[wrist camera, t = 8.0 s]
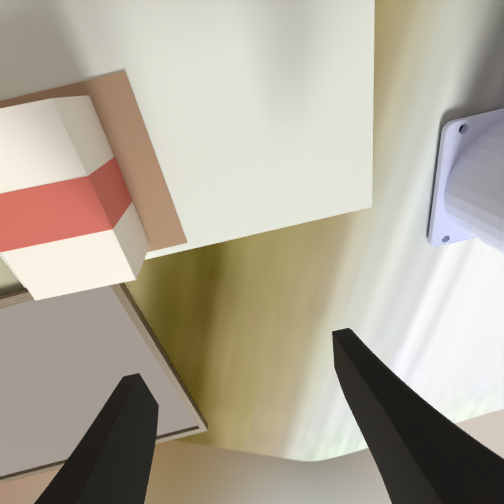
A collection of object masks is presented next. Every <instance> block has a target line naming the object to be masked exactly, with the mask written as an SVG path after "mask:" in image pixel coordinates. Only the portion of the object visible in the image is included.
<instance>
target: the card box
mask: <svg viewBox="0 0 504 504" xmlns="http://www.w3.org/2000/svg"><path fill="white" fill-rule="evenodd" d="M132 201H133V200H132V198H131V195H130V193H129V190H128V188H127V185H126V183H125V181H124V178H123V176H122V173H121V171H120V168H119V166H118V163H117V161H116V158H115V157H114V155H113V152H112V150H111V147H110V145H109V142H108V140H107V137H106V135H105V133H104V130H103V128H102V125H101V123H100V120H99V118H98V115H97V113H96V110H95V108H94V105H93V103H92V100H91V98H90V96H89V95H85V96H72V97H60V98H50V99H45V100H40V101H35V102H30V103H25V104H20V105H15V106H10V107H5V108H0V252H1V253H2V255H3V256H4V257H5V259H6V260H7V262H8V263H9V264H10V266H11V267H12V269H13V270H14V271H15V273H16V274H17V276H18V277H19V278H20V280H21V281H22V282H23V284H24V285H25V287H26V288H27V289H28V291H29V292H30V294H31V295H32V296H33V298H34V299H35V301H36V300H41V299H46V298H50V297H55V296H60V295H65V294H70V293H75V292H79V291H84V290H89V289H94V288H99V287H104V286H108V285H113V284H118V283H123V282H128V281H132V280H136V279H137V276H138V274H139V271H140V269H141V266H142V264H143V261H144V259H145V256H146V254H147V251H148V249H149V246H150V244H149V241H148V239H147V236H146V234H145V231H144V229H143V226H142V224H141V221H140V219H139V216H138V214H137V211H136V209H135V207H134V204H133V202H132Z"/></svg>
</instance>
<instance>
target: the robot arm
mask: <svg viewBox="0 0 504 504" xmlns="http://www.w3.org/2000/svg"><path fill="white" fill-rule="evenodd" d="M462 124H463V128H462V130H461V131H460V132H459V128H460V126H461V125H462ZM444 236H445V238H444V239H443V237H444ZM473 238H478V239H480V240H481V241H483V242H485V243H486V244H488V245H490V246H492V247H493V248H495V249H497V250H498V251H500V252H502V253H504V108H502V109H498V110H494V111H489V112H485V113H481V114H477V115H472V116H468V117H464V118H459V119H455V120H451V121H449V122H447V123H446V124H445V125H444V127H443V129H442V132H441V140H440V148H439V156H438V164H437V172H436V180H435V188H434V196H433V204H432V212H431V220H430V228H429V235H428V243H429V244H430V245H432V246H433V247H438V246H442V245H447V244H451V243H455V242H460V241H464V240H468V239H473ZM332 336H333V352H334V367H335V371H336V373H337V376H338V379H339V382H340V385H341V388H342V390H343V393H344V396H345V398H346V400H347V402H348V405H349V407H350V409H351V411H352V413H353V415H354V417H355V419H356V422H357V424H358V426H359V428H360V430H361V432H362V434H363V436H364V439H365V441H366V443H367V445H368V447H369V449H370V451H371V453H372V455H373V458H374V460H375V462H376V464H377V466H378V469H379V471H380V473H381V476H382V478H383V481H384V483H385V486H386V489H387V491H388V494H389V497H390V499H391V502H392V504H504V459H503V458H502V457H500V456H499V455H497V454H496V453H494V452H493V451H491V450H490V449H488V448H487V447H485V446H484V445H482V444H481V443H480V442H478V441H477V440H475V439H474V438H473V437H471V436H470V435H469V434H467V433H466V432H464V431H463V430H462V429H460V428H459V427H458V426H456V425H455V424H454V423H452V422H451V421H450V420H449V419H447V418H446V417H445V416H443V415H442V414H441V413H440V412H438V411H437V410H436V409H435V408H433V407H432V406H431V405H430V404H428V403H427V402H426V401H425V400H424V399H422V398H421V397H420V396H419V395H418V394H417V393H415V392H414V391H413V390H412V389H411V388H410V387H409V386H407V385H406V384H405V383H404V382H403V381H402V380H401V379H400V378H399V377H398V376H396V375H395V374H394V373H393V372H392V371H391V370H390V369H389V368H388V367H387V366H386V365H385V364H384V363H383V362H382V361H381V360H380V359H379V358H378V357H377V356H376V355H375V354H374V353H373V352H372V351H371V350H370V349H369V348H368V347H367V346H366V345H365V344H364V343H363V342H362V341H361V340H360V339H359V338H358V336H357V335H356V334H355V333H354V332H353V331H352V330H351V329H349V328H346V329H342V330H337V331H332ZM158 411H159V405H158V403H157V401H156V400H155V398H154V396H153V395H152V393H151V392H150V390H149V388H148V387H147V385H146V383H145V382H144V380H143V378H142V377H141V375H140V373H137V374H132V375H127V376H123V377H122V379H121V380H120V382H119V383H118V385H117V386H116V388H115V389H114V391H113V392H112V394H111V395H110V397H109V399H108V400H107V402H106V403H105V405H104V406H103V408H102V409H101V411H100V412H99V414H98V415H97V417H96V418H95V420H94V421H93V423H92V424H91V426H90V427H89V429H88V430H87V432H86V433H85V435H84V436H83V438H82V439H81V441H80V442H79V444H78V445H77V447H76V448H75V449H74V451H73V452H72V454H71V455H70V456H69V458H68V459H67V461H66V462H65V463H64V465H63V466H62V468H61V469H60V470H59V472H58V473H57V475H56V476H55V477H54V478H53V480H52V481H51V482H50V484H49V485H48V487H47V488H46V489H45V490H44V492H43V493H42V494H41V496H40V497H39V498H38V499H37V501H36V502H35V503H34V504H144V500H145V495H146V490H147V485H148V480H149V475H150V469H151V464H152V458H153V453H154V448H155V442H156V437H157V426H158Z"/></svg>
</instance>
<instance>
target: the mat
mask: <svg viewBox="0 0 504 504" xmlns="http://www.w3.org/2000/svg"><path fill="white" fill-rule="evenodd" d="M374 1H375V0H0V108H5V107H10V106H15V105H20V104H25V103H30V102H35V101H40V100H45V99H50V98H60V97H72V96H85V95H89V96H90V98H91V100H92V103H93V105H94V108H95V110H96V113H97V115H98V118H99V120H100V123H101V125H102V128H103V130H104V133H105V135H106V137H107V140H108V142H109V145H110V147H111V150H112V152H113V155H114V157H115V158H116V161H117V163H118V166H119V168H120V171H121V173H122V176H123V178H124V181H125V183H126V185H127V188H128V190H129V193H130V195H131V198H132V200H133V201H132V202H133V204H134V207H135V209H136V211H137V214H138V216H139V219H140V221H141V224H142V226H143V229H144V231H145V234H146V236H147V239H148V241H149V244H150V246H149V249H148V251H147V254H146V256H145V259H150V258H154V257H158V256H163V255H167V254H171V253H176V252H180V251H184V250H189V249H193V248H197V247H201V246H206V245H210V244H214V243H219V242H223V241H227V240H232V239H236V238H240V237H244V236H249V235H253V234H257V233H262V232H266V231H270V230H275V229H279V228H283V227H287V226H292V225H296V224H300V223H305V222H309V221H313V220H318V219H322V218H326V217H331V216H335V215H339V214H343V213H348V212H352V211H356V210H361V209H365V208H369V207H372V166H373V84H374ZM0 256H1V257H2V259H3V260H4V261H5V263H6V264H7V265H8V267H9V268H10V269H11V270H12V272H13V273H14V274H15V276H16V277H17V278H18V280H19V281H20V282H21V284H22V285H23V286H24V288H25V285H24V284H23V282H22V281H21V280H20V278H19V277H18V276H17V274H16V273H15V271H14V270H13V269H12V267H11V266H10V264H9V263H8V262H7V260H6V259H5V257H4V256H3V255H2V253H1V252H0ZM145 259H144V260H145Z"/></svg>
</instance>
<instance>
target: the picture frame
mask: <svg viewBox="0 0 504 504" xmlns="http://www.w3.org/2000/svg"><path fill="white" fill-rule="evenodd" d="M137 373H140V375H141V377H142V378H143V380H144V382H145V383H146V385H147V387H148V388H149V390H150V392H151V393H152V395H153V396H154V398H155V400H156V401H157V403H158V405H159V411H158V426H157V437H156V442H155V444H157V443H161V442H165V441H169V440H173V439H177V438H181V437H185V436H189V435H192V434H196V433H200V432H204V431H208V425H207V423H206V422H205V420H204V418H203V417H202V415H201V413H200V411H199V410H198V408H197V406H196V405H195V403H194V401H193V400H192V398H191V396H190V395H189V393H188V391H187V390H186V388H185V386H184V384H183V383H182V381H181V379H180V378H179V376H178V374H177V373H176V371H175V369H174V368H173V366H172V364H171V363H170V361H169V359H168V357H167V356H166V354H165V352H164V351H163V349H162V347H161V346H160V344H159V342H158V341H157V339H156V337H155V335H154V334H153V332H152V330H151V329H150V327H149V325H148V324H147V322H146V320H145V319H144V317H143V315H142V314H141V312H140V310H139V308H138V307H137V305H136V303H135V302H134V300H133V298H132V297H131V295H130V293H129V292H128V290H127V288H126V287H125V285H124V283H118V284H113V285H108V286H104V287H99V288H94V289H89V290H84V291H79V292H75V293H70V294H65V295H60V296H55V297H50V298H46V299H41V300H36V301H35V299H34V298H33V296H32V295H31V294H30V292H29V291H28V289H27V288H26V289H22V290H19V291H15V292H11V293H8V294H4V295H0V484H2V483H6V482H10V481H14V480H17V479H21V478H25V477H29V476H33V475H37V474H41V473H45V472H48V471H53V470H57V469H60V468H62V466H63V465H64V463H65V462H66V461H67V459H68V458H69V456H70V455H71V454H72V452H73V451H74V449H75V448H76V447H77V445H78V444H79V442H80V441H81V439H82V438H83V436H84V435H85V433H86V432H87V430H88V429H89V427H90V426H91V424H92V423H93V421H94V420H95V418H96V417H97V415H98V414H99V412H100V411H101V409H102V408H103V406H104V405H105V403H106V402H107V400H108V399H109V397H110V395H111V394H112V392H113V391H114V389H115V388H116V386H117V385H118V383H119V382H120V380H121V379H122V377H123V376H127V375H132V374H137Z"/></svg>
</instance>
